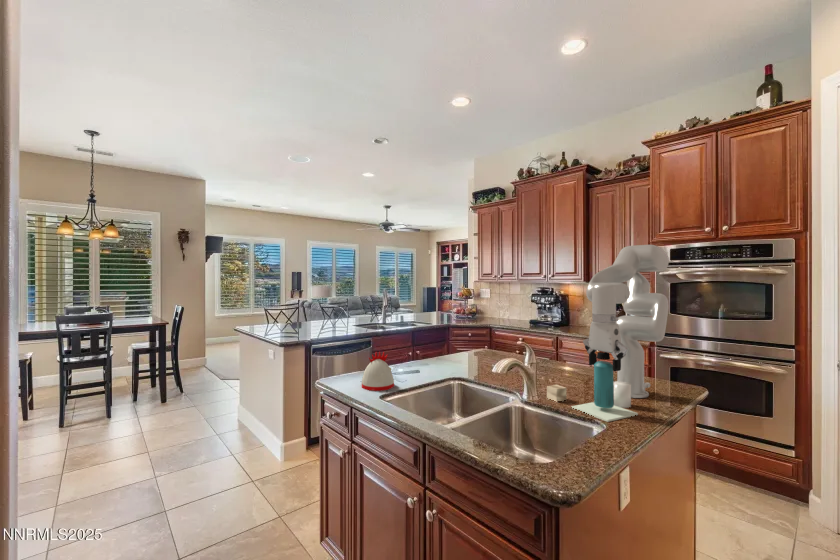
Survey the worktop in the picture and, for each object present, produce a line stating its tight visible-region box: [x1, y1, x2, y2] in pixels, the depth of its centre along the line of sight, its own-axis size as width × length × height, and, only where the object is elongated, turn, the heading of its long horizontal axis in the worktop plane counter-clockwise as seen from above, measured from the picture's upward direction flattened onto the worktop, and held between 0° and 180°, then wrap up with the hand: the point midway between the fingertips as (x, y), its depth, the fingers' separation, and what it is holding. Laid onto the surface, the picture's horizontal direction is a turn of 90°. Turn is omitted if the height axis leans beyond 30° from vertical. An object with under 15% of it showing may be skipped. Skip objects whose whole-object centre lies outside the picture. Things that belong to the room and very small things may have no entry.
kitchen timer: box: [361, 351, 395, 392], centre depth 166 cm, size 14×14×15 cm
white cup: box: [614, 380, 632, 409], centre depth 141 cm, size 6×6×8 cm
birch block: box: [546, 384, 567, 403], centre depth 148 cm, size 5×5×5 cm
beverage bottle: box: [593, 351, 615, 408], centre depth 135 cm, size 6×7×20 cm
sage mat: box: [570, 401, 639, 423], centre depth 134 cm, size 15×15×1 cm
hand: (604, 367), depth 135 cm, fingers open, 9 cm apart
